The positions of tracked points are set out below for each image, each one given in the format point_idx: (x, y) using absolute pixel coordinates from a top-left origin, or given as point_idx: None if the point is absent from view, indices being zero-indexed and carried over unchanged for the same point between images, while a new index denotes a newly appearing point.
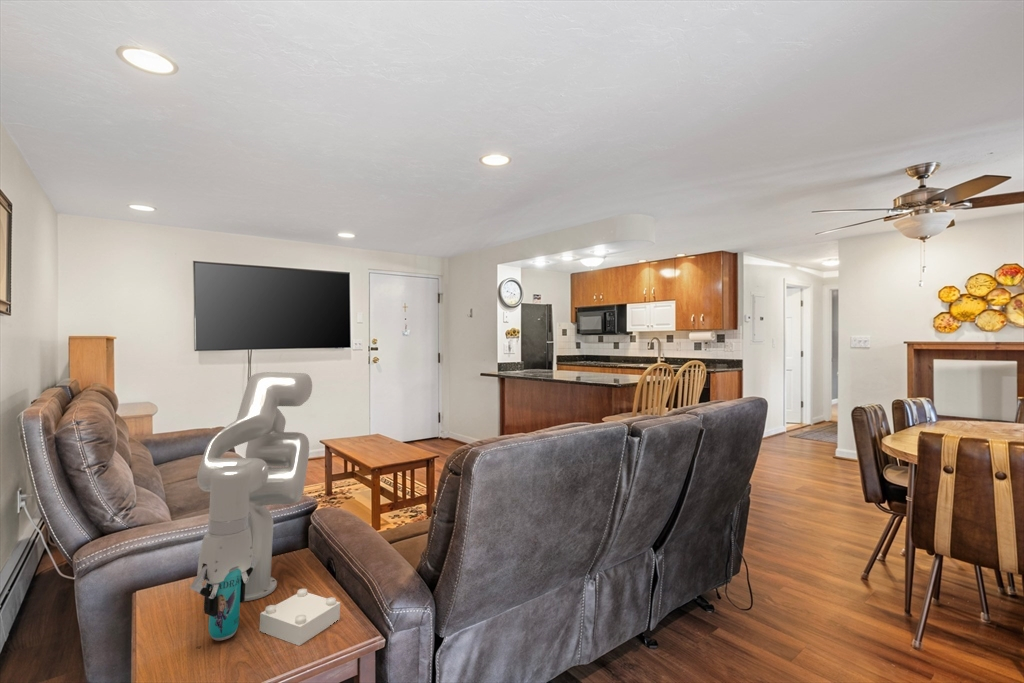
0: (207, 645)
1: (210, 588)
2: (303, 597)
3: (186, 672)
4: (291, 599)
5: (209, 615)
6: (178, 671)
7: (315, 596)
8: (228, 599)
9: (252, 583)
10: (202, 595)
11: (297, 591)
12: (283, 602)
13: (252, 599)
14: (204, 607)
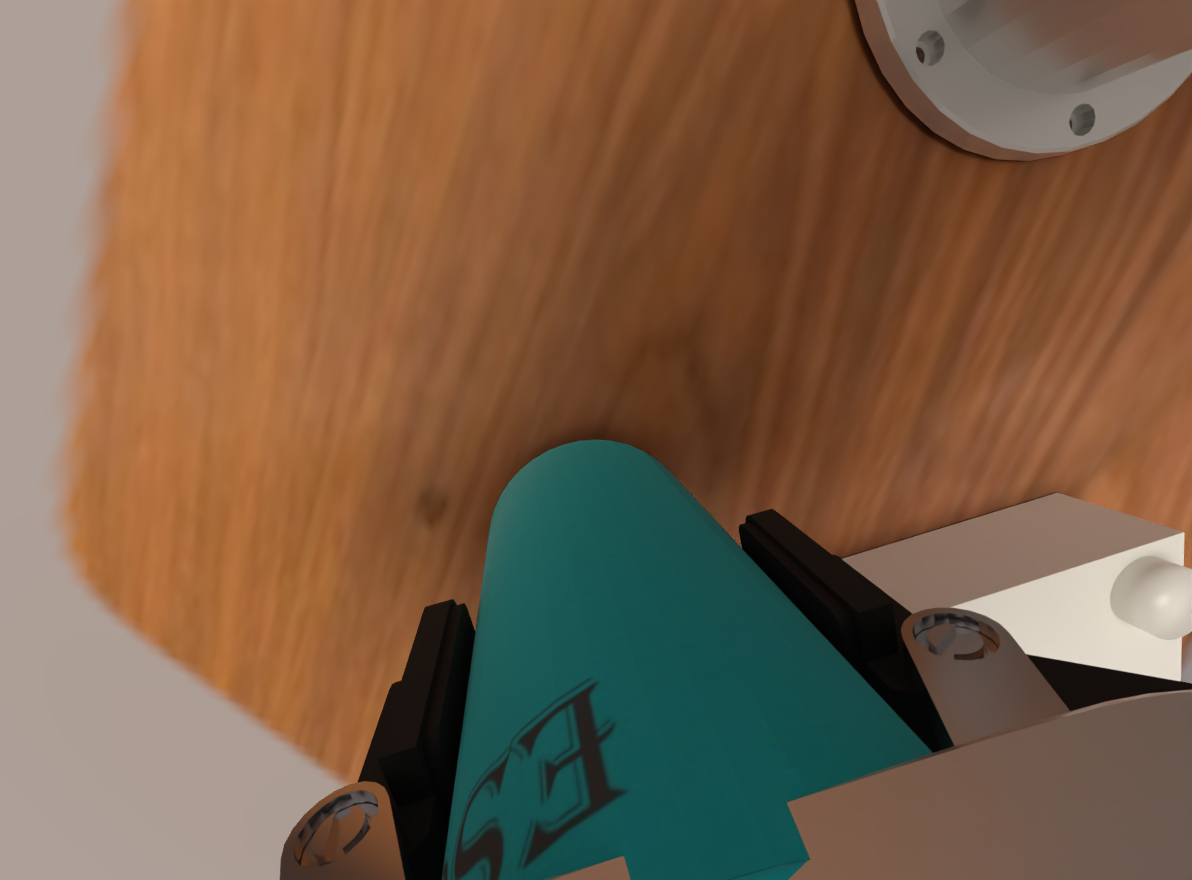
0: (477, 525)
1: (456, 793)
2: (1119, 634)
3: (290, 723)
4: (1060, 603)
5: (482, 580)
6: (255, 686)
7: (1165, 671)
8: None
9: (1091, 33)
10: (307, 832)
11: (1154, 594)
12: (1003, 610)
13: (956, 142)
14: (385, 715)
